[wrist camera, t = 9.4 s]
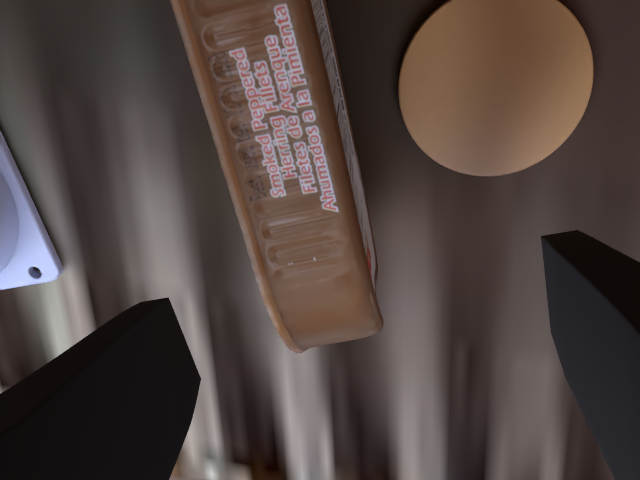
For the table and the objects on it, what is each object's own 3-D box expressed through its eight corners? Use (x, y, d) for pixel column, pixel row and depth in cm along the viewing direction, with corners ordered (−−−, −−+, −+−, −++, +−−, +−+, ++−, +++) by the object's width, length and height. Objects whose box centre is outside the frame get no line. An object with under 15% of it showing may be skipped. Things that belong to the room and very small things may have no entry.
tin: (188, -200, 17) (32, -313, 10) (297, -235, 17) (220, -384, 9) (312, 266, 23) (275, 421, 16) (394, 253, 23) (397, 407, 15)
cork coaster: (414, 186, 21) (414, 191, 21) (382, 9, 19) (382, 10, 19) (594, 154, 20) (598, 158, 20) (585, -39, 18) (589, -38, 18)
